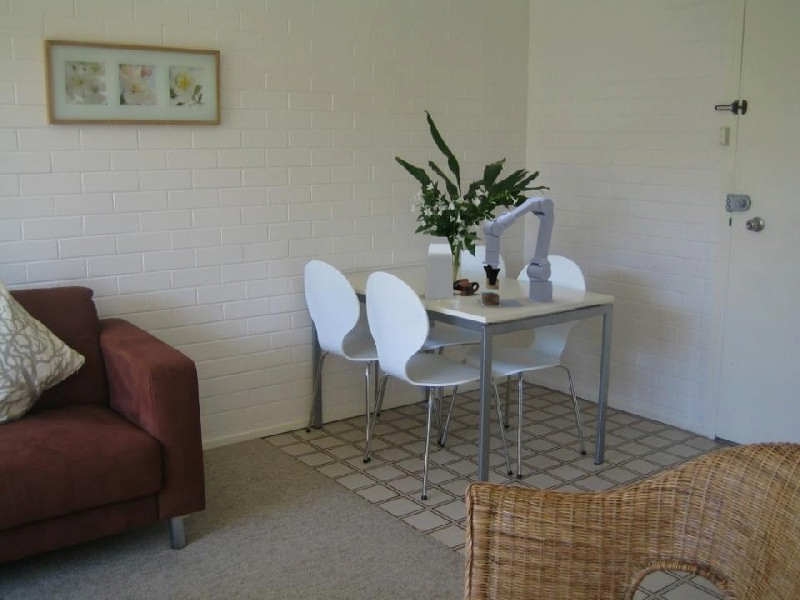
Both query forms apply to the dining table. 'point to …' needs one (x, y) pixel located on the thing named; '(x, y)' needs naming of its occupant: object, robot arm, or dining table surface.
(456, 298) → the dining table surface
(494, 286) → the oak block
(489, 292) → the teal block
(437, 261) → the milk
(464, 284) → the pottery mug
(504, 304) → the blueprint mat
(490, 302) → the walnut base
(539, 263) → the robot arm
